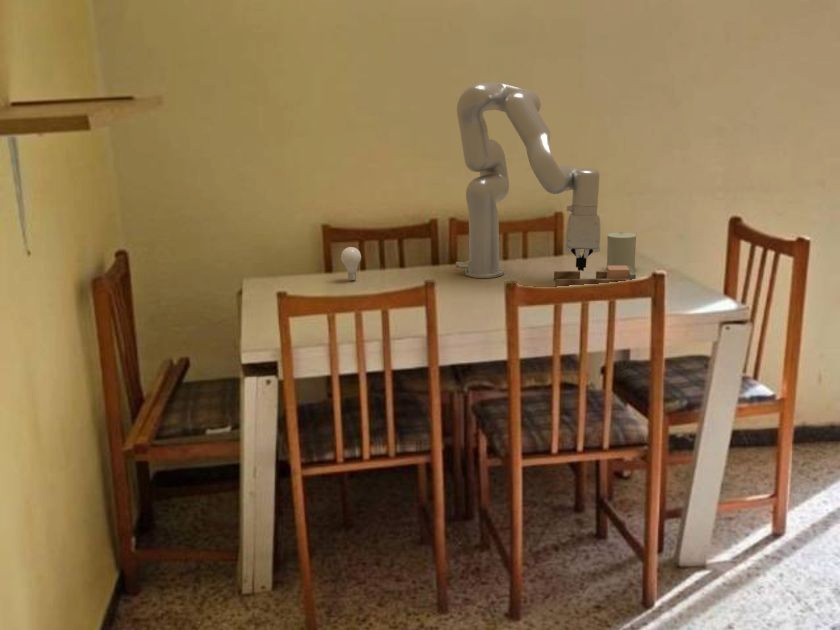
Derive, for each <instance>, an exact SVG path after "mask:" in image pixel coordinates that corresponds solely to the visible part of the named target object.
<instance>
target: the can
mask: <svg viewBox="0 0 840 630" xmlns="http://www.w3.org/2000/svg"><path fill="white" fill-rule="evenodd" d="M606 239H607V247H606V248H607V251H606V252H607V254H606V255H607V256H606V270H605V271H607V266H621V265H627V266H631V268H632V269H633V271H634V272H636V245H637V244H636V243H637V234H636V233H633V232H626V231H625V232H622V231H621V232H619V231H618V232H617V231H616V232H610V233H608V234H607V238H606Z"/></svg>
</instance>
